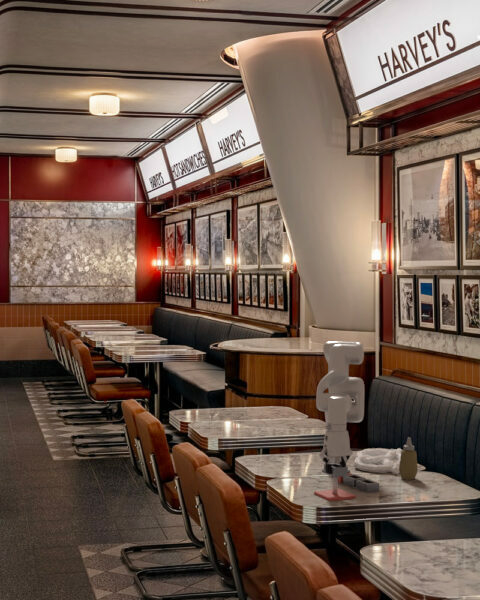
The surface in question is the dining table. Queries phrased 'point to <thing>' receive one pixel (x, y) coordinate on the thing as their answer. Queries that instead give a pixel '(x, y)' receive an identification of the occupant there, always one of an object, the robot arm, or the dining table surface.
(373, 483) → the link
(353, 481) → the link
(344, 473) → the end link
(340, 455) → the robot arm
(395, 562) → the dining table surface
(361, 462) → the pretzel
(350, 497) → the keeper
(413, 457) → the squeeze bottle
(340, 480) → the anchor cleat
